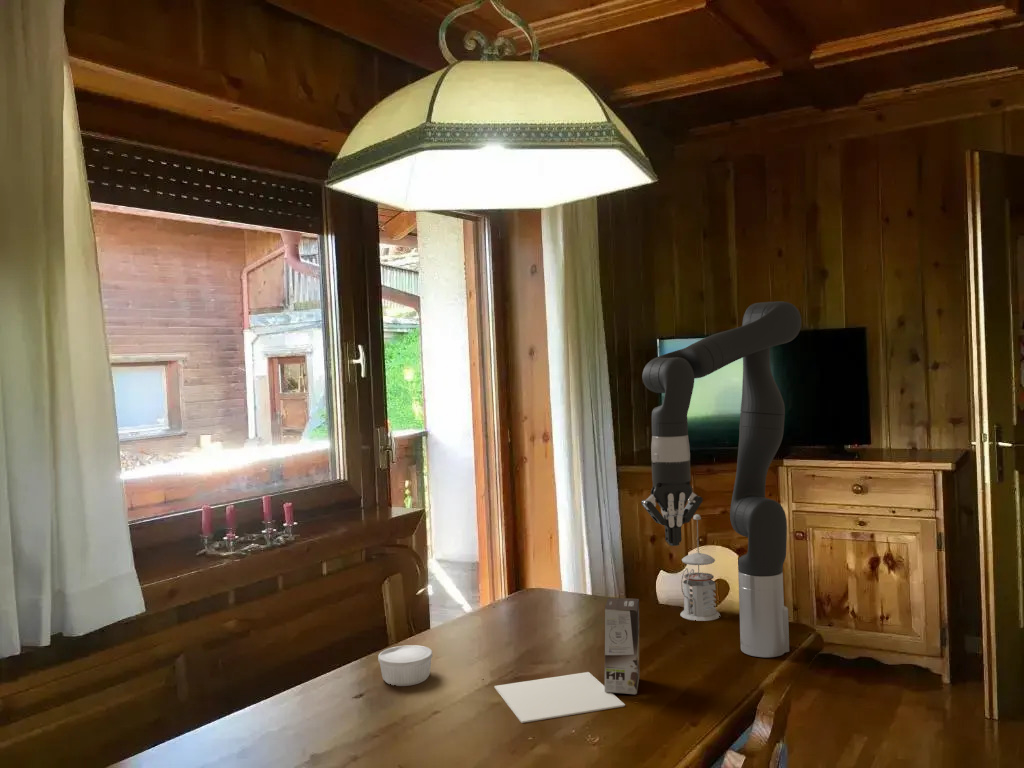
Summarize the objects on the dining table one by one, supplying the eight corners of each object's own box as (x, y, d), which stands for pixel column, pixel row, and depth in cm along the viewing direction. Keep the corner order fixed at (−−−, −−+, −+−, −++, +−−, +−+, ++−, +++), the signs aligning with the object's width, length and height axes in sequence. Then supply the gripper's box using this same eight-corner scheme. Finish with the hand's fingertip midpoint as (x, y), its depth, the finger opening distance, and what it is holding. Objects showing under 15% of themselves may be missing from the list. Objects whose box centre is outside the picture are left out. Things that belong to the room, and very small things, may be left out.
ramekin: (401, 665, 184) (400, 641, 184) (444, 673, 178) (443, 648, 178) (367, 683, 174) (366, 657, 174) (411, 692, 169) (410, 665, 169)
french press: (728, 613, 212) (724, 513, 212) (703, 625, 204) (700, 520, 203) (693, 606, 219) (690, 509, 218) (668, 617, 210) (664, 516, 210)
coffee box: (637, 695, 162) (637, 610, 162) (603, 692, 164) (603, 608, 163) (640, 678, 171) (640, 597, 171) (608, 676, 173) (607, 596, 172)
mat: (588, 673, 175) (588, 671, 175) (625, 706, 158) (624, 704, 158) (494, 687, 169) (494, 685, 169) (521, 723, 152) (521, 721, 152)
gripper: (691, 454, 175) (694, 538, 176) (632, 458, 172) (635, 544, 172) (710, 457, 168) (712, 545, 169) (648, 462, 164) (651, 552, 165)
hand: (673, 545), depth 170 cm, fingers closed
